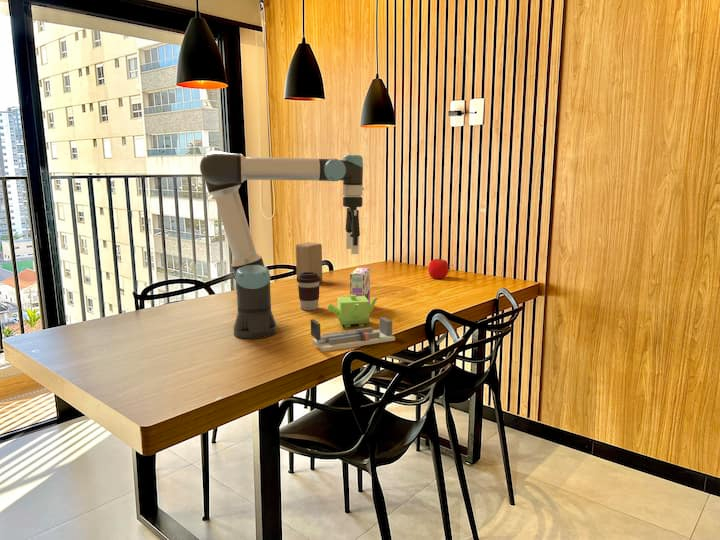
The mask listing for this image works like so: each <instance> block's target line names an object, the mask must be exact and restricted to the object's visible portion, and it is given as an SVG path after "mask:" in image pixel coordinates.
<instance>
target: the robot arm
mask: <svg viewBox="0 0 720 540" xmlns="http://www.w3.org/2000/svg"><path fill="white" fill-rule="evenodd" d="M199 164H200V165H199V171H200V174H201V176H202V177H203V179H204V182H205V185H206V188H207V192H208V193H209V194H210V195H211V196H213V197H214V200H215V203H216V207H217V209H218V213H219V216H220V219H221V222H222V226H223V229H224V231H225V236H226V238H227V239H226V240H227V242H228V246H229V249H230V251H231V254H232V255H231V256H232V258H233V260H232V263H231V269H232V273H233V276H234V279H235V282H236V286H235V287H236V301H237V302H236V303H237V313H236V318H235V322H234V325H233V335H234V336H235V337H236V338H237V337H238V338H240V339H248V340H249V339H250V340H251V339H252V340H253V339H262V338H267V337H271V336H273V335H275V334H277V332H278V328H277V322H276V319H275V318H274V315H273V312H272V303H271V302H272V298H271V296H272V295H271V274H270V270H269V268H267V267H266V266H265V264H264V259H263V257H262V255H260V254H259V253H257V251H256V248H255V244H254V240H253V237H252V234H251V233H252V232H251V230H250V226H249V224H248V219H247V217H246V214H245V209H244V206H243V204H242V203H243V202H242V200H241V196H240V193H239V189H240V187H241V186H242V184H243V182H245V181H249V180H250V181H311V182H313V181H317V182H318V181H320V182H322V181H323V182H339V181H342V195H343V197H342V206H343V207H345V208H346V221H345V232H346V233H345V241H346V242H345V249H346V250H350V254H351V255H360V254H359V249H360V248H359V246H360V245H359V243H360V241H359V240H360V235H361V233H360V216H359V213H360V211H359V209H357V208H361V207H363V197H362V196H363V191H364V190H365V187H364V186H363V182H364V181H363V178H364V177H363V176H364V159H363V157H362V156H361V155H360V154H359V155H358V154H344V155H343V156H342V159H338V158H305V157H304V158H303V157H268V156H267V157H265V156H264V157H263V156H262V157H259V156H256V157H255V156H244V155H243V154H242V153H233V152H232V153H231V152H225V151H221V150H212V151H208V152H207V153H206V154H204V156H203V157H202V158H201V160H200V163H199Z"/></svg>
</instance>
